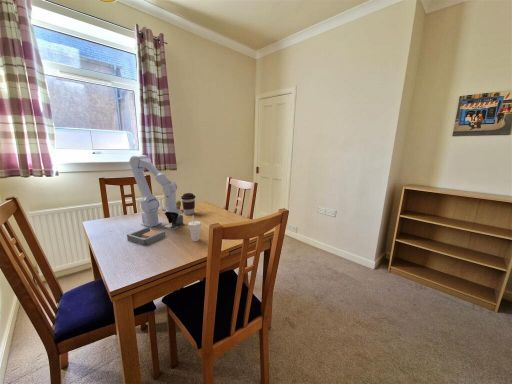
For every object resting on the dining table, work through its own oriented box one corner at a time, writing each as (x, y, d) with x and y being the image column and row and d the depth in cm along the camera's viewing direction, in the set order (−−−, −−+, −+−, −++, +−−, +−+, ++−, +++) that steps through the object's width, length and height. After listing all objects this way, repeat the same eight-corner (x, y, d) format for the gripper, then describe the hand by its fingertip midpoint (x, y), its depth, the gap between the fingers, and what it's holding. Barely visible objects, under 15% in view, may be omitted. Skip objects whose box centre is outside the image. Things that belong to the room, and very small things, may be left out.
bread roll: (177, 214, 158) (177, 204, 156) (164, 214, 157) (163, 204, 155) (182, 209, 170) (181, 199, 168) (169, 209, 169) (168, 199, 167)
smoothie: (190, 237, 119) (189, 213, 116) (202, 237, 120) (201, 213, 117) (188, 242, 113) (186, 217, 110) (200, 242, 114) (199, 217, 111)
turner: (177, 222, 142) (176, 214, 141) (186, 224, 139) (185, 216, 137) (163, 227, 132) (163, 219, 131) (173, 230, 129) (172, 221, 128)
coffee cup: (198, 212, 163) (197, 193, 160) (190, 216, 154) (189, 196, 151) (187, 210, 166) (186, 192, 163) (179, 214, 157) (178, 194, 154)
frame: (127, 239, 115) (126, 234, 114) (148, 231, 126) (148, 226, 126) (145, 245, 109) (144, 240, 108) (165, 236, 121) (165, 231, 120)
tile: (142, 237, 119) (142, 234, 119) (153, 233, 125) (152, 230, 125) (151, 240, 116) (150, 236, 116) (161, 235, 122) (161, 232, 122)
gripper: (157, 202, 130) (159, 223, 133) (174, 205, 124) (176, 227, 127) (166, 199, 136) (168, 219, 139) (183, 202, 130) (185, 223, 133)
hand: (172, 223), depth 133 cm, fingers closed on turner, 2 cm apart
